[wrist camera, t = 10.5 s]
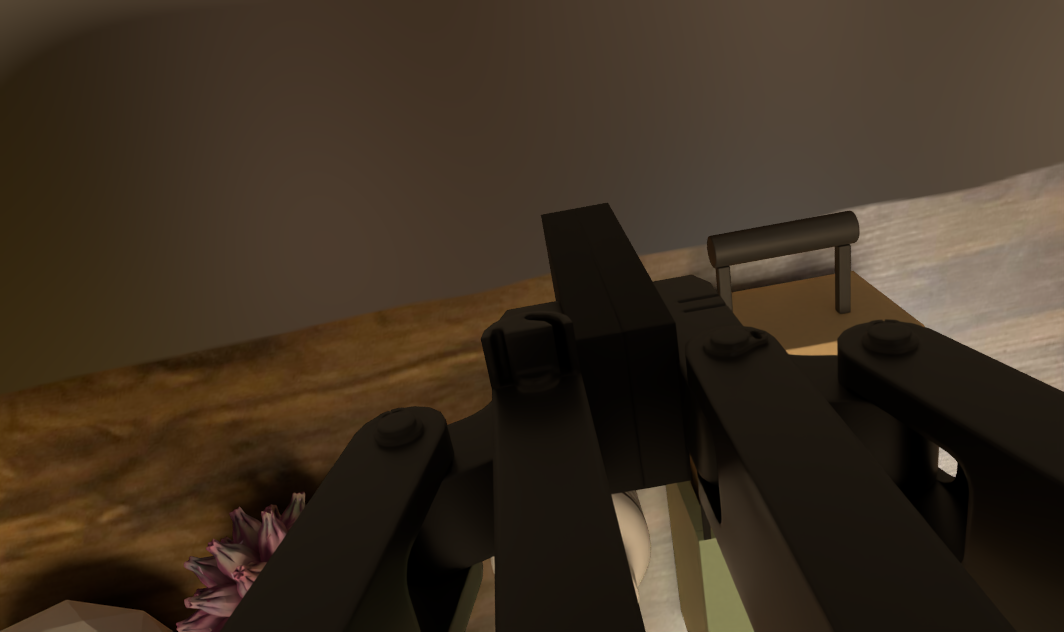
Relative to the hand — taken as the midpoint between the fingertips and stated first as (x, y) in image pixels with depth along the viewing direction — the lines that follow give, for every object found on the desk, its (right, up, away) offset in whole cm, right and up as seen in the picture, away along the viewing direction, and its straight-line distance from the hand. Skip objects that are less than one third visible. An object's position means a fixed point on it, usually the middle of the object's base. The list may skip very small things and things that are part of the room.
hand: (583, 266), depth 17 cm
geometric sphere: (-30, -23, +35) cm, 52 cm away
